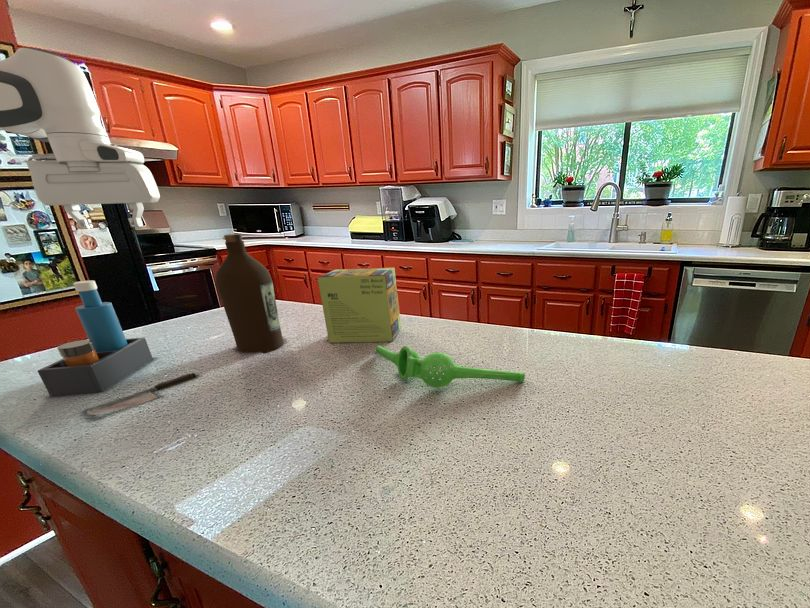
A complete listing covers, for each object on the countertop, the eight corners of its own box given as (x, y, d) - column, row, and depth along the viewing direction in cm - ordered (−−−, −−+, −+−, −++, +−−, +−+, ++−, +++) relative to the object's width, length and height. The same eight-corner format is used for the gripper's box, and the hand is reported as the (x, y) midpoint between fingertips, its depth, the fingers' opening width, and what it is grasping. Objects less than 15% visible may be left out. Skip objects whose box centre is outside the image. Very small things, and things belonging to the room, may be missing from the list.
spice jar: (76, 392, 71) (56, 350, 68) (76, 384, 74) (57, 344, 71) (109, 383, 74) (92, 343, 71) (108, 376, 77) (91, 338, 74)
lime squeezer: (525, 379, 71) (525, 346, 69) (497, 409, 62) (497, 372, 59) (380, 353, 86) (376, 325, 83) (339, 374, 76) (334, 343, 74)
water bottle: (103, 375, 77) (64, 286, 70) (102, 367, 81) (64, 282, 74) (136, 367, 80) (102, 281, 74) (134, 360, 84) (101, 278, 77)
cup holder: (154, 361, 85) (145, 337, 83) (103, 394, 71) (90, 366, 69) (111, 365, 84) (101, 340, 82) (51, 399, 70) (36, 370, 68)
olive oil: (228, 358, 86) (192, 238, 76) (244, 342, 95) (214, 233, 86) (280, 352, 88) (252, 235, 78) (290, 337, 97) (267, 231, 88)
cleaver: (92, 418, 61) (82, 409, 64) (95, 424, 62) (85, 415, 64) (204, 377, 73) (192, 371, 76) (206, 382, 74) (194, 376, 76)
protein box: (393, 341, 92) (385, 275, 86) (328, 343, 93) (315, 277, 87) (402, 328, 102) (395, 267, 96) (343, 329, 102) (332, 268, 96)
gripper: (8, 152, 73) (42, 231, 78) (131, 150, 75) (156, 226, 81) (37, 155, 78) (67, 228, 84) (151, 154, 81) (173, 224, 87)
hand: (112, 227), depth 82 cm, fingers open, 8 cm apart
